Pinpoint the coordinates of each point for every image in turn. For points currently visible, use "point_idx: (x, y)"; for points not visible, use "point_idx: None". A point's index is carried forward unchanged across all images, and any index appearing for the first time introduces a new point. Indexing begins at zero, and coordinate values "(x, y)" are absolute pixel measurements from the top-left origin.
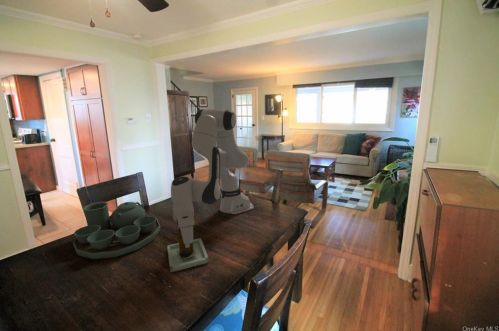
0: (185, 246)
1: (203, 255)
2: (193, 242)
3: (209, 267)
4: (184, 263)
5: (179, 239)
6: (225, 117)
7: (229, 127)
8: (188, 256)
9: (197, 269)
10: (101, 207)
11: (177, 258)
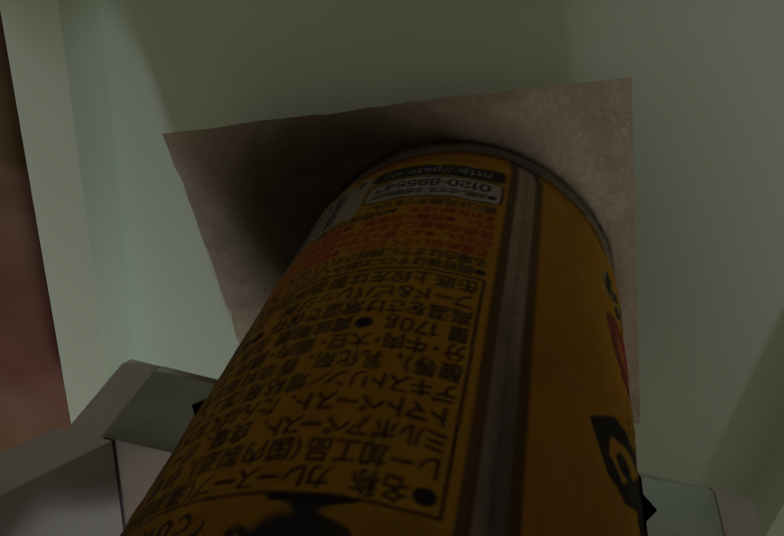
0: (113, 377)
1: None
2: (767, 486)
3: (10, 378)
4: (52, 112)
5: (285, 426)
6: None
7: None
8: (250, 251)
9: (5, 238)
10: None
11: (422, 32)
